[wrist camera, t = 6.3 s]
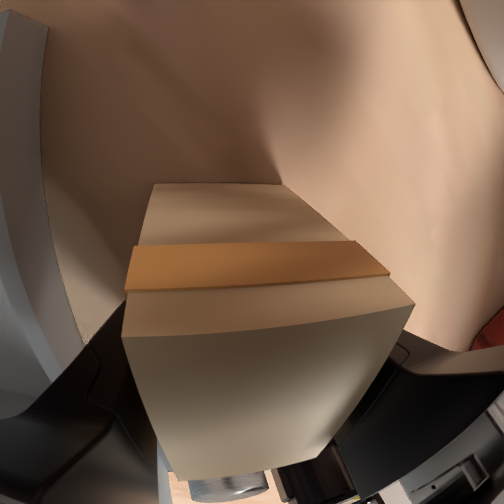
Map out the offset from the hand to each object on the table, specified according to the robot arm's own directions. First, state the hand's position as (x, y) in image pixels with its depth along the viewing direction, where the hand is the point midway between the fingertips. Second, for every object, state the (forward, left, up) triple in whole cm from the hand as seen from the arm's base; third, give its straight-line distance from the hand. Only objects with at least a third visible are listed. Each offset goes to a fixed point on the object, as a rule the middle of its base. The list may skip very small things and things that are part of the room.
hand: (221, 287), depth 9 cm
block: (0, 0, -1) cm, 1 cm away
